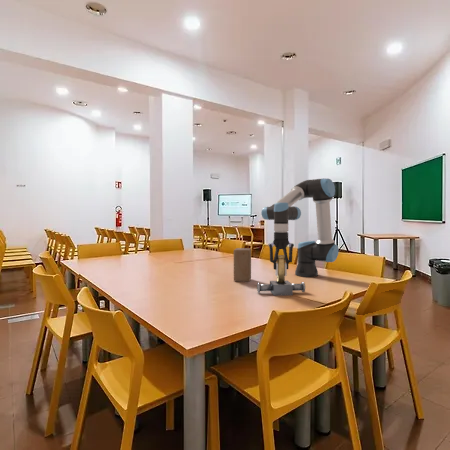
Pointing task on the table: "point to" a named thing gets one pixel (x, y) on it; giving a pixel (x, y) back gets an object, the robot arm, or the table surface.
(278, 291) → the valve body
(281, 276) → the valve handle
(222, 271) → the table surface
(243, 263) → the wooden block
